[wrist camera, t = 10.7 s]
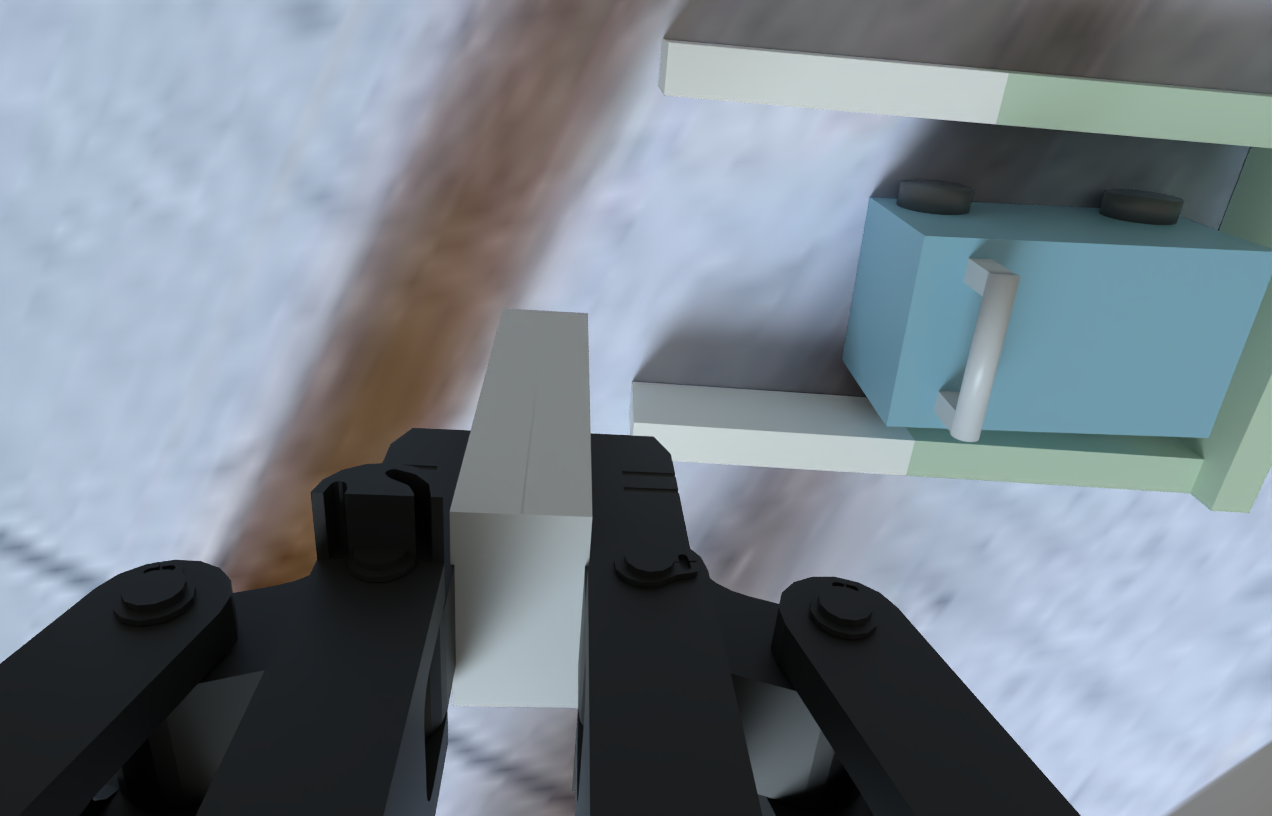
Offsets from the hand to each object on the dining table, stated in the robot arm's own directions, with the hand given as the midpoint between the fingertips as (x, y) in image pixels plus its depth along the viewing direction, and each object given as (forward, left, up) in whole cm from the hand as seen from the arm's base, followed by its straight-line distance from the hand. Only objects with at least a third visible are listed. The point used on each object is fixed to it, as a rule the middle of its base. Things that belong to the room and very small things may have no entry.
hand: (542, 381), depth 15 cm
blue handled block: (+13, -1, -11) cm, 17 cm away
